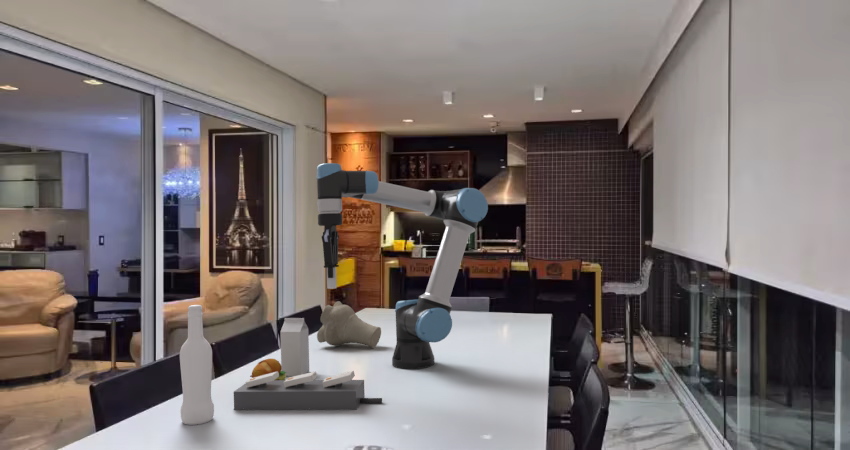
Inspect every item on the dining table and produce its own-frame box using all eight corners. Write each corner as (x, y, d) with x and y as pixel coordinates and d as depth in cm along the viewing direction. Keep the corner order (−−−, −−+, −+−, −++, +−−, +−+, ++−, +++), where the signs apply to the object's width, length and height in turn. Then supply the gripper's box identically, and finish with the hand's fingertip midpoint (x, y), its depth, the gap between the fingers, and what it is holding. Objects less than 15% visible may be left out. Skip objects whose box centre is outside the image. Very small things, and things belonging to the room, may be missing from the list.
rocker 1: (279, 376, 170) (277, 370, 170) (273, 380, 165) (271, 374, 165) (253, 383, 171) (251, 377, 171) (246, 387, 166) (245, 382, 166)
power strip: (385, 397, 171) (384, 376, 171) (378, 409, 159) (377, 388, 159) (250, 397, 175) (250, 377, 175) (234, 409, 163) (233, 388, 163)
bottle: (186, 416, 158) (183, 303, 158) (217, 414, 159) (215, 302, 159) (176, 426, 150) (173, 307, 150) (209, 424, 151) (206, 306, 151)
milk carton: (301, 376, 198) (299, 319, 198) (281, 376, 199) (279, 319, 200) (309, 371, 205) (308, 316, 205) (290, 371, 206) (288, 316, 206)
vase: (401, 313, 251) (344, 295, 261) (380, 311, 231) (320, 293, 241) (387, 363, 249) (330, 344, 259) (366, 366, 229) (305, 345, 239)
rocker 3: (354, 375, 169) (353, 370, 169) (351, 380, 164) (349, 374, 164) (328, 382, 169) (326, 377, 169) (323, 387, 164) (322, 381, 164)
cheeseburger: (294, 383, 189) (290, 354, 187) (276, 400, 179) (271, 370, 177) (267, 380, 193) (262, 352, 190) (247, 397, 183) (242, 368, 180)
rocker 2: (316, 376, 170) (315, 370, 170) (312, 380, 165) (310, 375, 165) (290, 382, 170) (289, 376, 170) (284, 387, 165) (283, 381, 165)
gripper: (323, 213, 193) (325, 286, 193) (312, 212, 180) (314, 290, 180) (346, 213, 192) (348, 286, 192) (336, 212, 179) (338, 290, 179)
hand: (331, 288), depth 186 cm, fingers closed
